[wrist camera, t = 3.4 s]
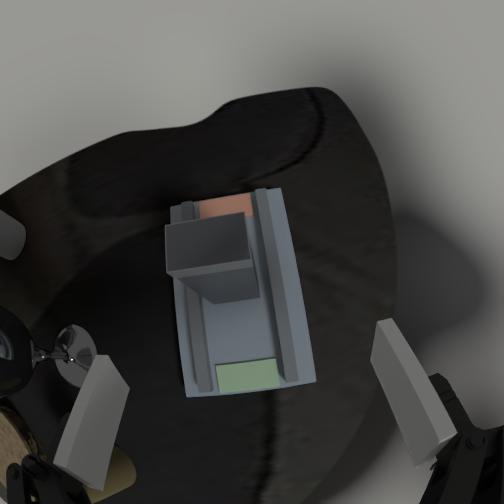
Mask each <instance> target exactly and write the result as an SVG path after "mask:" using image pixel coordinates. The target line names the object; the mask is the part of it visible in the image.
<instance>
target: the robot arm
mask: <svg viewBox="0 0 504 504" xmlns="http://www.w3.org/2000/svg"><path fill="white" fill-rule="evenodd" d="M370 361H371V363H372V366H373V368H374V370H375V372H376V374H377V377H378V379H379V381H380V383H381V386H382V388H383V390H384V392H385V395H386V397H387V399H388V402H389V404H390V406H391V408H392V411H393V413H394V416H395V418H396V421H397V423H398V425H399V428H400V430H401V433H402V435H403V438H404V440H405V443H406V446H407V448H408V451H409V453H410V456H411V459H412V461H413V464H414V467H415V468H416V467H418V466H421V465H423V464H425V463H427V462H429V461H431V460H432V459H433V458H434V457H435V456H436V458H437V460H438V461H436V462H435V463H434V464H433V465H432V467H431V468H430V470H432V469H434V471H433V473H432V476H431V478H430V481H429V483H428V485H427V488H426V490H425V492H424V494H423V497H422V499H421V501H420V503H419V504H504V425H503V426H500V427H496V428H493V429H488V430H482V429H480V428H476V427H475V426H474V425H473V424H472V423H471V421H470V419H469V417H468V415H467V414H466V412H465V410H464V408H463V406H462V405H461V403H460V401H459V399H458V398H457V397H456V394H455V392H454V391H453V390H452V387H451V386H450V384H449V383H448V381H447V379H445V378H444V377H443V376H442V375H440V374H439V373H436V374H434V375H431V376H429V377H427V375H426V373H425V372H424V370H423V368H422V366H421V365H420V363H419V362H418V360H417V358H416V356H415V355H414V353H413V351H412V350H411V348H410V347H409V345H408V343H407V342H406V340H405V339H404V337H403V335H402V334H401V332H400V330H399V329H398V327H397V326H396V324H395V323H394V321H393V320H392V318H390V319H386V320H382V321H378V322H377V326H376V332H375V338H374V343H373V349H372V354H371V359H370ZM129 389H130V388H129V387H128V385H127V384H126V383H125V381H124V380H123V378H122V377H121V375H120V374H119V372H118V371H117V369H116V368H115V366H114V364H113V363H112V361H111V360H110V358H109V356H108V355H96V356H95V359H94V361H93V363H92V365H91V367H90V369H89V372H88V374H87V376H86V378H85V380H84V383H83V385H82V387H81V390H80V392H79V394H78V397H77V399H76V402H75V404H74V406H73V409H72V411H71V413H68V412H67V413H66V414H65V415H64V416H63V418H62V419H61V420H60V423H59V426H58V430H57V431H56V433H55V437H54V439H53V441H52V444H51V447H50V450H49V453H48V456H47V459H46V461H45V462H44V461H43V460H42V459H40V458H39V457H38V456H36V455H35V454H32V453H31V454H27V455H26V456H25V457H24V458H23V459H22V462H21V466H20V465H19V464H18V463H14V462H13V463H11V464H10V465H9V466H8V467H7V470H6V486H7V499H8V504H92V503H91V501H90V499H89V497H88V495H87V493H86V491H85V489H84V488H83V487H82V485H83V484H85V485H87V486H88V487H90V488H93V489H97V490H100V491H103V489H104V484H105V479H106V475H107V470H108V466H109V462H110V458H111V454H112V450H113V446H114V442H115V438H116V434H117V430H118V427H119V423H120V419H121V416H122V412H123V409H124V406H125V402H126V399H127V395H128V392H129ZM31 496H33V497H34V498H35V501H34V502H33V501H32V499H31Z"/></svg>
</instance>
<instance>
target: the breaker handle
mask: <svg viewBox="0 0 504 504" xmlns="http://www.w3.org/2000/svg"><path fill="white" fill-rule="evenodd" d="M165 249H166V271H167V273H168V274H169V275H170V276H172V277H173V278H174V279H176V278H177V279H178V280H180V281H181V282H182V283H184V284H185V285H186V286H188V287H189V288H191V289H192V290H193V291H195V292H196V293H198V294H199V295H201V296H202V297H203V298H205V299H206V300H208V301H209V302H211V303H212V304H221V303H228V302H235V301H242V300H249V299H255V298H261V297H260V291H259V284H258V278H257V271H256V266H255V262H254V257H253V252H252V248H251V243H250V239H249V233H248V227H247V220H246V216H245V211H243V212H237V213H231V214H225V215H219V216H213V217H207V218H202V219H196V220H191V221H185V222H180V223H175V224H169V225H165Z"/></svg>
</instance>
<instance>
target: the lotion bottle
mask: <svg viewBox="0 0 504 504" xmlns="http://www.w3.org/2000/svg"><path fill="white" fill-rule="evenodd" d="M25 239H26V230H25V227H24V226H23V225H22V224H21V223H20V222H18V221H17V220H15V219H14V218H12V217H11V216H9V215H7V214H6V213H4V212H3V211H1V210H0V256H1V257H3V258H6V259H8V260H13V259H15V258H16V257H18V255H19V254H20V253H21V251H22V249H23V246H24V243H25Z"/></svg>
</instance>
